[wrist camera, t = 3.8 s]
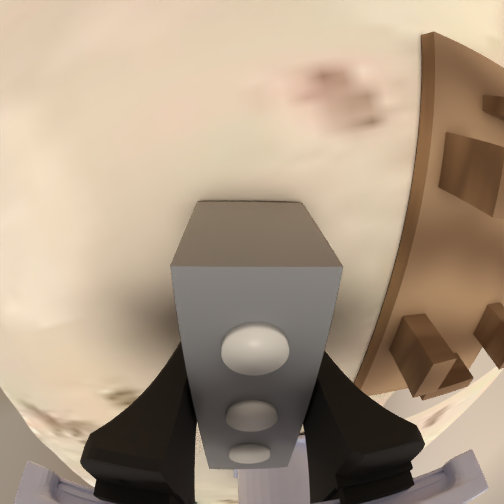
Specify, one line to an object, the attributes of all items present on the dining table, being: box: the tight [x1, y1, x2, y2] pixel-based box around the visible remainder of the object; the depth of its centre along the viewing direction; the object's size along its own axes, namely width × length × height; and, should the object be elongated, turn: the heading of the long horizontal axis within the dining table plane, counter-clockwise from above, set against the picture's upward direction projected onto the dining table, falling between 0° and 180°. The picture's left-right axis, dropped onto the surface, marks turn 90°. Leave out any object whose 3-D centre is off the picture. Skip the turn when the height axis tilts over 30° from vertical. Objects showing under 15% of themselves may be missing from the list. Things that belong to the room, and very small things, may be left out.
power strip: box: [170, 202, 343, 469], centre depth 11 cm, size 12×4×5 cm, turn 178°
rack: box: [354, 32, 504, 400], centre depth 11 cm, size 20×10×4 cm, turn 178°
